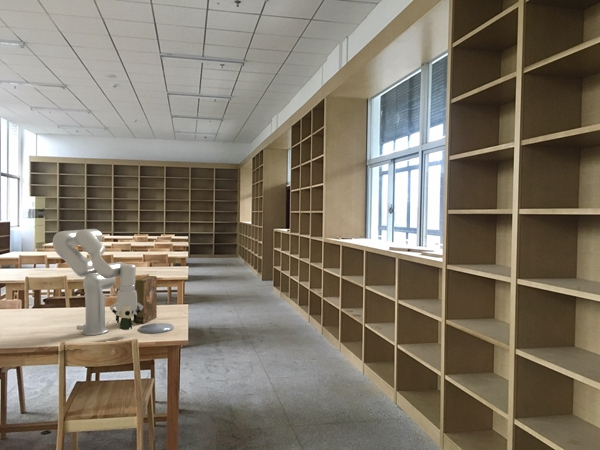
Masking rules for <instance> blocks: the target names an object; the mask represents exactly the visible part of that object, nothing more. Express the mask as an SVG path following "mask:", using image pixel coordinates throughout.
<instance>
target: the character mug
mask: <svg viewBox="0 0 600 450" xmlns="http://www.w3.org/2000/svg"><path fill="white" fill-rule="evenodd" d="M116 311H117V310H116ZM117 316H119V318H120V320H119V329H120V330H123V331H129V330H132V329H133V322H132V318H134V312H133V311H131V306H122V311H121V310H120V309H119V310H118V311H117Z"/></svg>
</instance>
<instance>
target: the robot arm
mask: <svg viewBox="0 0 600 450" xmlns="http://www.w3.org/2000/svg"><path fill="white" fill-rule="evenodd" d="M103 237H104V236H103V233H102V232H101V231H100V230H99V229H97V228H86V229H85V228H83V229H74V230H63V231H59V232H57V233H55V234H54V235H53V238H52V247H53V249H54V251H55V253H56V254H57V255H58V256H59V257H60V258H61V259H62V260H64V261H65V263H66V265H68V266H69V267H70V269H71V270H72V271H73V272H74V273H75V275H77V276H78V277H82V278H83V282H82V284H83V290H84V299H85V300H84V301H85V302H84V303H85V323H84V324H83V325H80V324H79V325H76V330H79V331H82V332H81V333H82V334H83V335H84V336H99V335H103V334H107V333H108V332H109V328H107V327H106V298H105V294H104V293H103V290H107V289H109V288H110V289H111V288H112V287H114V285H116V278H119V285H116V290H117V289H118V291H117V293H116V302H114V303H113V304H111V305H110V306H109V309H110V311H112V313H113V314H114V315H115V322H116V323H117V324H118V323H119V324H120V317H119V316H117V311H118V310H119V309H120V310H121V311H122V306H131V311H133V312H134V315H133V322H132V323H134V324H136V323H135V321H136V320H137V314H138V313H139V312H140V311H141V310H142V309H143V306H142V305H141V304H139V303H138V302H137V292H136V290H135V280H136V276H137V275H136V267H137V266H136V265H135V264H132V263H125V262H122V261H117V262H109V263H107V262H106V260H104V259H103V257H102V255H104V253H105V252H106V246H105V245H104V244H103V243H102V241H103V239H104V238H103ZM75 246H80V247H81V248H82V249H83V250H84V251H85V252H86V253H87V254H88V256H90V257H85V256H84V255H83V254H82V253H81V252H80V251H79V250H78V249H77V248H74V247H75ZM137 306H139V307H140V308H139V309H138V310H137V311H136V309H137Z"/></svg>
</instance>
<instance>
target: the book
mask: <svg viewBox="0 0 600 450" xmlns="http://www.w3.org/2000/svg"><path fill="white" fill-rule="evenodd" d="M157 279H158V278H157V276H156V275H148V276H145V277H141V278H137V279H135V290H136V292H137V302H138V303H139V304H141V305H142V306H143V309H142V310H141V311H140V312H139V313H138V314H137V320H136V321H135V323H134V324H137V323H138V324H139V323H140V324H148V322H151V321H153V320H155V319H157V317H158V316H157V315H158V312H157V308H158V307H157V300H158V299H157V298H158V297H157V295H158V294H157V293H158V291H157V285H158V284H157V283H158V282H157V281H158V280H157ZM139 308H140V307H139V306H137V309H136V311H137V310H138V309H139Z"/></svg>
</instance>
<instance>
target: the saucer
mask: <svg viewBox="0 0 600 450" xmlns="http://www.w3.org/2000/svg"><path fill="white" fill-rule="evenodd" d="M138 329H139V332H140V333H142V334H163V333H168V332H171V331H172V330H174V329H175V328H174V325H173V323H172V324H171V323H167V322H166V323H165V322H157V323H156V322H154V323H146V324H143V325H141V326H140V327H139V328H138Z"/></svg>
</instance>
